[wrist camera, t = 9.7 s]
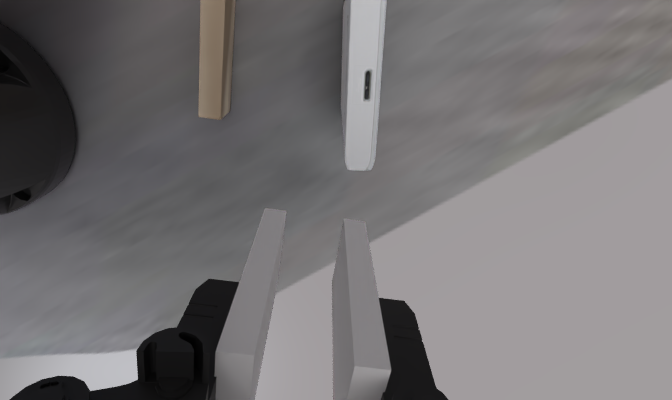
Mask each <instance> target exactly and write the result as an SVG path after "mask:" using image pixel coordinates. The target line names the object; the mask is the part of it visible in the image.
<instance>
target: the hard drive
mask: <svg viewBox="0 0 672 400" xmlns="http://www.w3.org/2000/svg"><path fill="white" fill-rule="evenodd" d="M385 17H386V0H345V1H344V5H343V33H342V75H341V116H342V128H343V141H344V156H345V163H346V166H347V168H348V170H361V171H370V170H371V169H372V167H373V164H374V162H375V155H376V143H377V131H378V118H379V104H380V89H381V74H382V59H383V46H384V32H385Z"/></svg>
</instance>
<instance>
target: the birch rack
mask: <svg viewBox="0 0 672 400" xmlns="http://www.w3.org/2000/svg"><path fill="white" fill-rule="evenodd" d="M235 2H236V0H201V5H200V63H199V117H203V118H210V119H216V120H221V119H222V118H223V117H224V116H225V115H226V114H228V113H229V112H230V103H231V83H232V63H233V43H234V22H235Z"/></svg>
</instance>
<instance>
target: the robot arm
mask: <svg viewBox="0 0 672 400" xmlns="http://www.w3.org/2000/svg"><path fill="white" fill-rule="evenodd" d="M74 150H75V127H74V121H73V116H72V112H71V109H70V106H69V103H68V100H67V98H66V96H65V94H64V91H63V89H62V88H61V86H60V84H59V82H58V80H57V79H56V77H55V76H54V74H53V73H52V71H51V70H50V68H49V67H48V66H47V64H46V63H45V62H44V61H43V59H42V58H41V57H40V56H39V55H38V54H37V53H36V52H35V51H34V50H33V49H32V48H31V47H30V46H29V45H28V44H27V43H26V42H25V41H24V40H23V39H21V38H20V37H19V36H18V35H17V34H15V33H14V32H12V31H11V30H10V29H8V28H7V27H5V26H4V25H2V24H1V23H0V215H2V214H6V213H10V212H13V211H16V210H18V209H21V208H23V207H25V206H27V205H29V204H31V203H32V202H34V201H36V200H37V199H39V198H41V197H42V196H44V195H45V194H47V193H48V192H50V191H51V190H53V189H54V188H55V187H56V186H57V185H58V184H59V183H60V182H61V180H62V179H63V178H64V176H65V175H66V173H67V171H68V169H69V167H70V165H71V162H72V159H73V155H74ZM286 213H287V211H284V210H277V209H270V208H265V209H264V212H263V215H262V218H261V221H260V223H259V226H258V229H257V232H256V235H255V238H254V241H253V244H252V247H251V250H250V253H249V256H248V258H247V261H246V264H245V267H244V270H243V273H242V276H241V279H240V282H231V281H223V280H215V279H208V280H207V281H206V282H204V283H203V284H202V285H201V286H199V287H198V288H197V289H196V290H195V292H194V294H193V296H192V298H191V300H190V302H189V305H188V306H187V308H186V310H185V312H184V315H183V317H182V318H181V320H180V322H179V324H178V326H177V328H168V329H165V330H162V331H159V332H156V333H154V334H153V335H151V336H150V337H148V338H147V339H146V340H144V341H143V342H142V344H141V345H140V347H139V348H138V349H137V366H138V367H137V368H138V380H136V381H134V382H132V383H129V384H126V385H122V386H118V387H112V388H107V389H101V390H95V391H90V390H89V389H88V387H87V385H86V384H85V382H84V381H81V380H80V379H77V378H75V377H71V376H56V377H52V378H47V379H42V380H40V381H38V382H36V383H34V384H32V385H29V386H27V387H25V388H24V389H23V390H21V391H20V392H19V393H18V394H16V395H15V396H13V397H12V398H11V399H10V400H255V395H256V389H257V385H258V379H259V374H260V369H261V364H262V359H263V354H264V348H265V344H266V339H267V334H268V329H269V323H270V319H271V313H272V309H273V303H274V298H275V293H276V288H277V283H278V278H279V271H280V263H281V255H282V246H283V238H284V229H285V221H286ZM332 318H333V319H332V321H333V400H448V399H447V398H446V396H445V395H444V394H443V393H442V392H441V391H439V390H438V389H437V388H436V386H435V383H434V379H433V376H432V372H431V369H430V365H429V362H428V359H427V355H426V351H425V348H424V344H423V342H422V338H421V334H420V331H419V330H418V324H417V320H416V317H415V314H414V312H413V311H412V310H411V309H410V308H409V306H408V305H407V304H406V303H405V301H399V300H392V299H383V298H379V297H378V292H377V286H376V280H375V275H374V269H373V264H372V258H371V252H370V246H369V241H368V235H367V229H366V224H365V221H359V220H351V219H344V221H343V226H342V231H341V237H340V242H339V248H338V253H337V258H336V264H335V269H334V274H333V280H332Z"/></svg>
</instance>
